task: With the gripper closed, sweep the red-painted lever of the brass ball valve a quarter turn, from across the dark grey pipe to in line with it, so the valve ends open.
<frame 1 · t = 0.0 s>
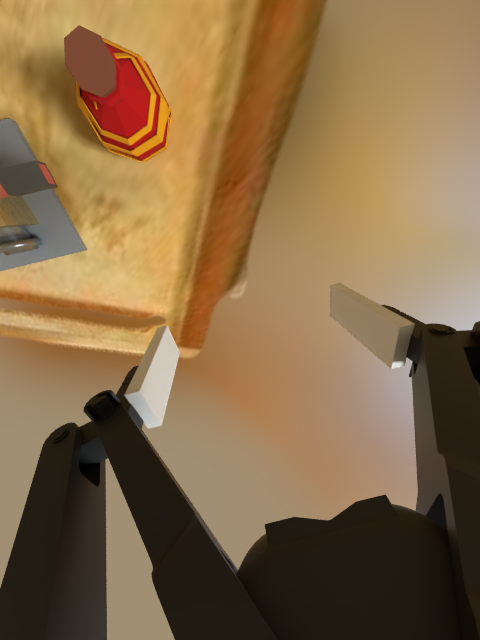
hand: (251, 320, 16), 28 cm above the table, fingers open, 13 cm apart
potion bottle: (143, 130, 31), on the table
valve body: (8, 205, 33), resting on slate board
slate board: (8, 205, 33), on the table
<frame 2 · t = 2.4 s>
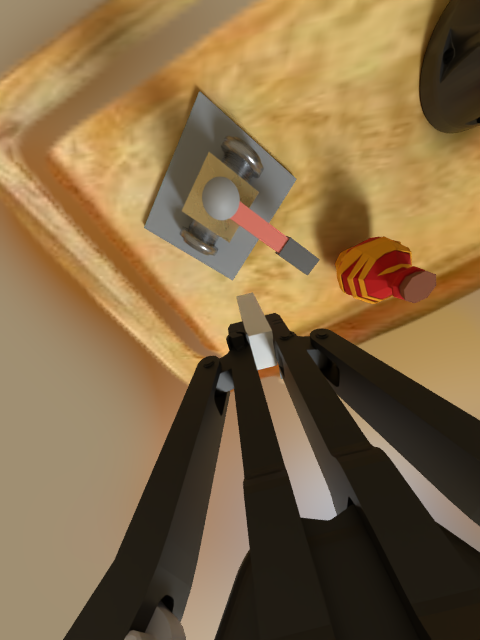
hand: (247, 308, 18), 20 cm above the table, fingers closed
lever: (263, 231, 24), point 10 cm above the table, hinge at 0.0°
potion bottle: (347, 261, 38), on the table
valve body: (219, 204, 31), resting on slate board
slate board: (219, 204, 31), on the table
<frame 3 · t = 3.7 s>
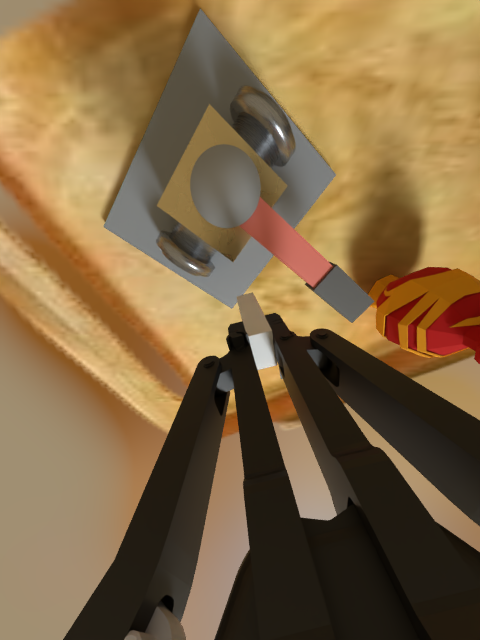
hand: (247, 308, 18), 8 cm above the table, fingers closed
lever: (293, 251, 14), point 10 cm above the table, hinge at 0.0°
potion bottle: (383, 292, 29), on the table
valve body: (220, 201, 21), resting on slate board
slate board: (220, 201, 21), on the table
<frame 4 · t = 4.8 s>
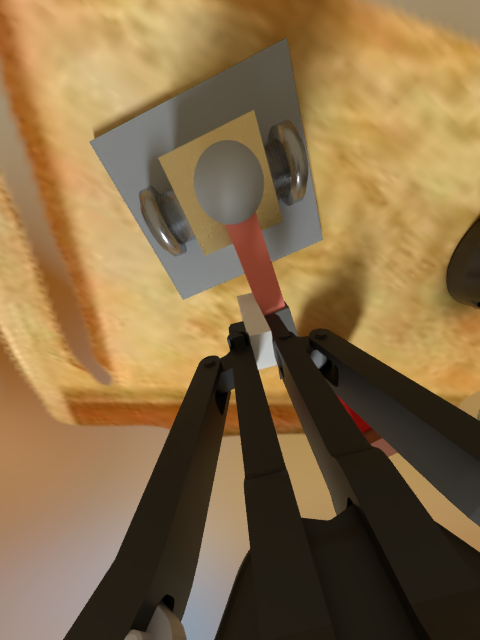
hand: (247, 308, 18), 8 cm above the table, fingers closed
lever: (260, 276, 15), point 10 cm above the table, hinge at 0.1°, touching gripper
potion bottle: (314, 352, 33), on the table
valve body: (223, 198, 21), resting on slate board
slate board: (223, 198, 21), on the table
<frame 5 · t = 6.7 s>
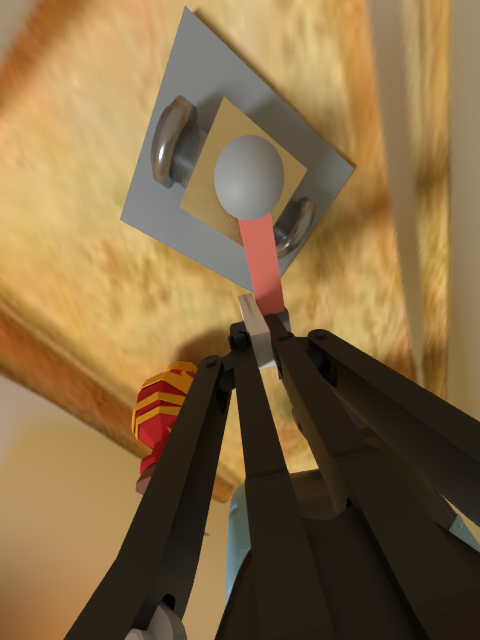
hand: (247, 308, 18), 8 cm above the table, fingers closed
lever: (264, 276, 15), point 10 cm above the table, hinge at 44.7°, touching gripper
potion bottle: (183, 372, 32), on the table
valve body: (235, 195, 21), resting on slate board
slate board: (235, 195, 21), on the table
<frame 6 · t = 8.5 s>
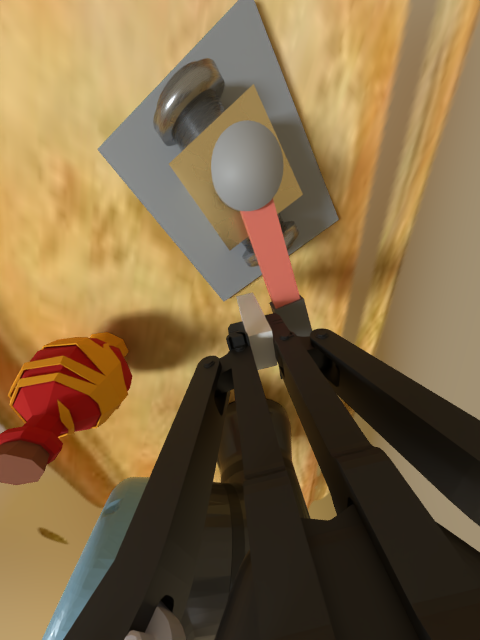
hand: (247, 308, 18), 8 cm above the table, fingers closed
lever: (274, 266, 15), point 10 cm above the table, hinge at 77.0°
potion bottle: (108, 346, 28), on the table
valve body: (232, 189, 21), resting on slate board
slate board: (232, 189, 21), on the table
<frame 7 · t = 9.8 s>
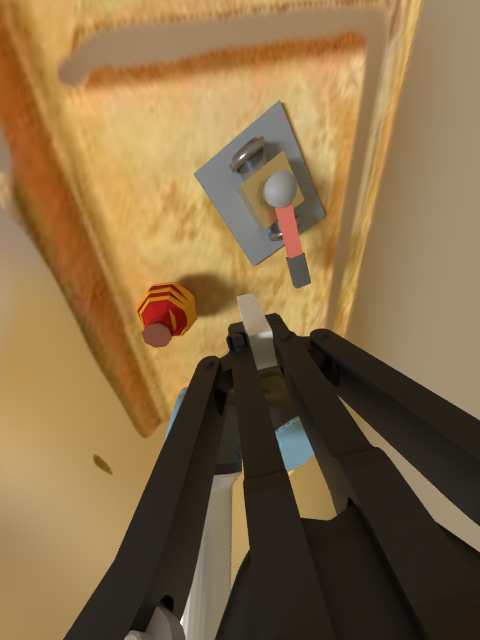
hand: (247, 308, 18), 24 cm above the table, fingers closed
lever: (290, 235, 29), point 10 cm above the table, hinge at 77.0°
potion bottle: (175, 297, 42), on the table
valve body: (263, 196, 35), resting on slate board
slate board: (263, 196, 35), on the table
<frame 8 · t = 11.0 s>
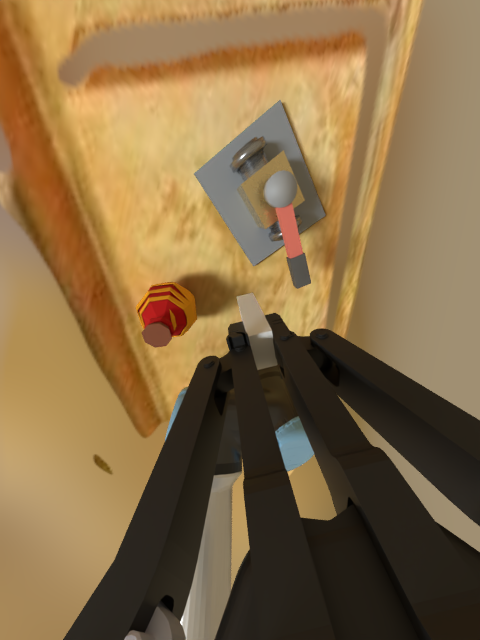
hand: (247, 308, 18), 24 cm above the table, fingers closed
lever: (290, 235, 29), point 10 cm above the table, hinge at 77.0°
potion bottle: (175, 296, 42), on the table
valve body: (263, 196, 35), resting on slate board
slate board: (263, 196, 35), on the table
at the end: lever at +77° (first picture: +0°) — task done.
